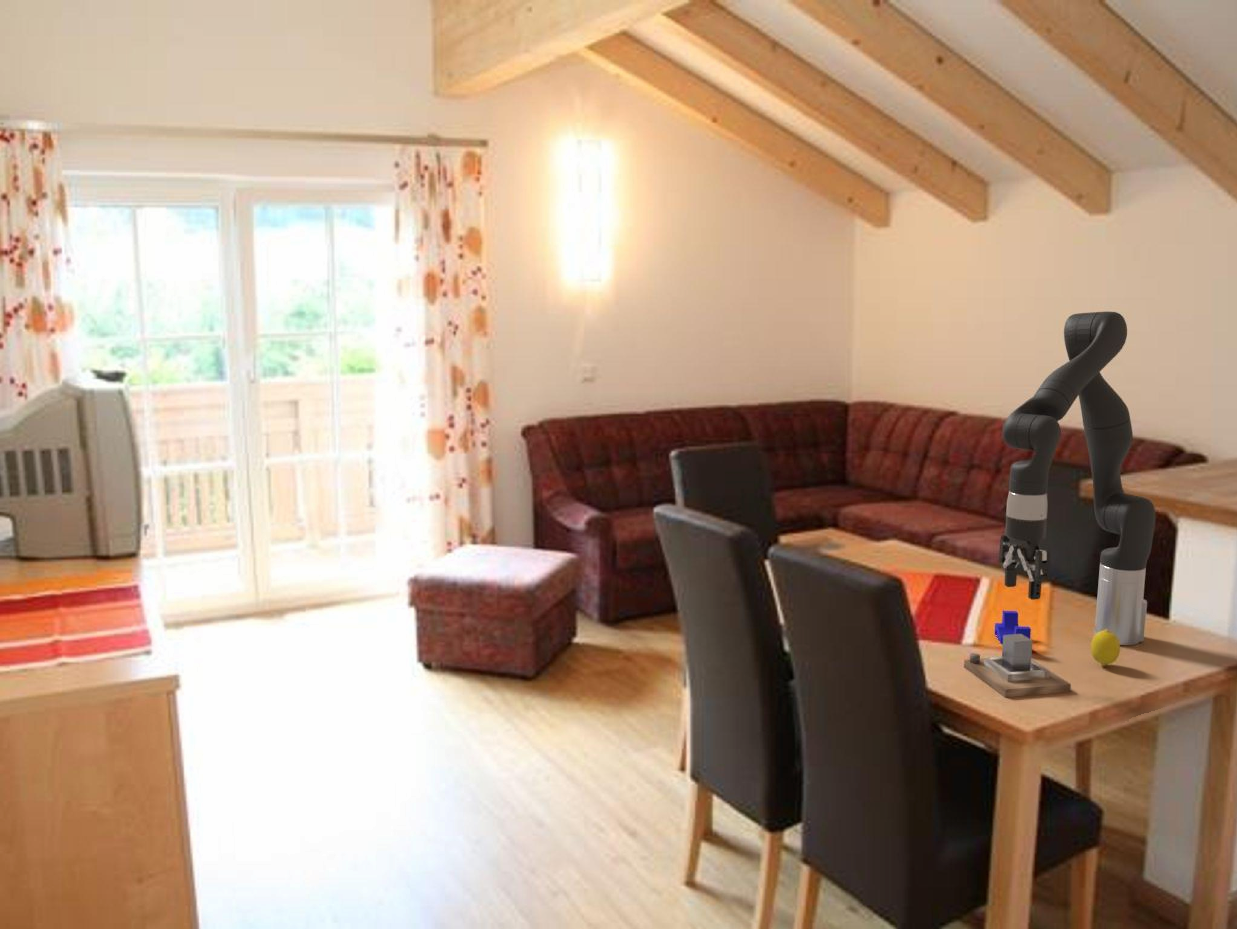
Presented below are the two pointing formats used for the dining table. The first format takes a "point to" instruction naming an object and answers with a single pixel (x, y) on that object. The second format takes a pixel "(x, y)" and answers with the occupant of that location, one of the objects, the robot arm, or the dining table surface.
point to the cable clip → (1010, 626)
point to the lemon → (1105, 647)
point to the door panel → (1016, 677)
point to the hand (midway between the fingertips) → (1021, 592)
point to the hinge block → (1016, 653)
